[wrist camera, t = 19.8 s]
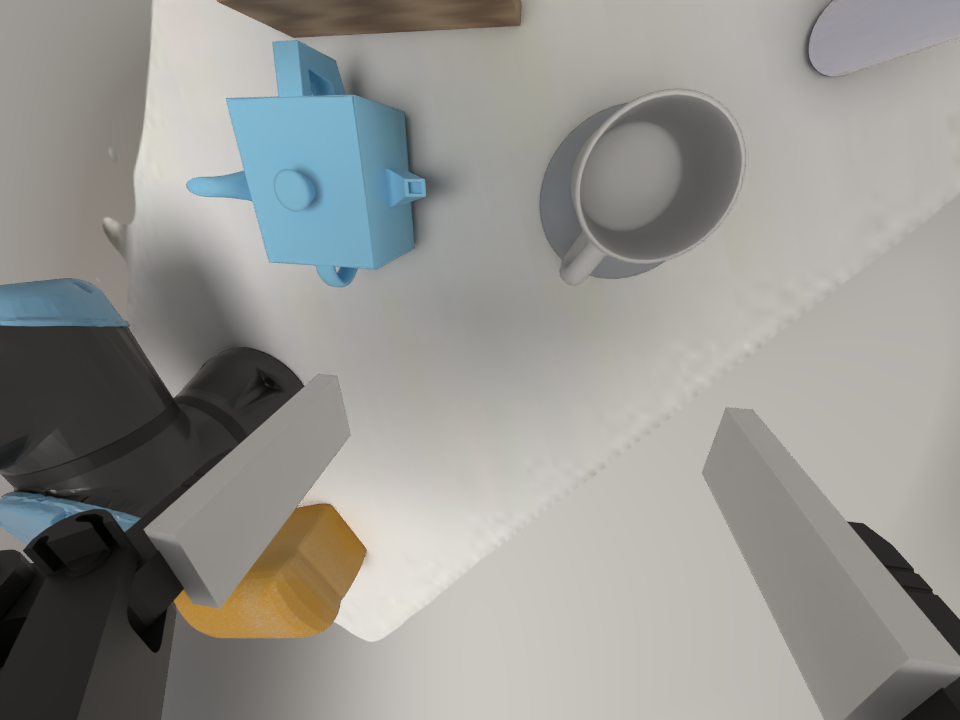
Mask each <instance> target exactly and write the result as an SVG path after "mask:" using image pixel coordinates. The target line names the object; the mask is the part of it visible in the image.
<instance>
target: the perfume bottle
mask: <svg viewBox="0 0 960 720" xmlns="http://www.w3.org/2000/svg"><path fill="white" fill-rule="evenodd" d="M958 38H960V0H833V1H832V2H831V3H830V4H829V5H828V6H827V7H826V8H825V10H824V11H823V13H822V14H821V15H820V17H819V18H818V20H817V22H816V24H815V26H814V28H813V31H812V34H811V37H810V42H809V56H810V61H811V63H812V65H813V66H814V68H815V69H816V70H817V71H818V72H820V73H822V74H824V75H828V76H842V75H847V74H850V73H853V72H856V71H860V70H863V69H866V68H869V67H872V66H875V65H878V64H881V63H884V62H887V61H890V60H893V59H896V58H900V57H903V56H906V55H909V54H912V53H915V52H918V51H921V50H924V49H927V48H930V47H933V46H936V45H940V44H943V43H946V42H949V41H952V40H955V39H958Z"/></svg>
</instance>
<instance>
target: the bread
mask: <svg viewBox="0 0 960 720" xmlns="http://www.w3.org/2000/svg"><path fill="white" fill-rule="evenodd" d="M365 553H366V548H365V547H364V545H363V544H362V543H361V542H360V540H359V539H358V538H357V536H356V535H355V534H354V533H353V531H352V530H351V529H350V528H349V526H348V525H347V524H346V522H345V521H344V520H343V519H342V517H341V516H340V515H339V514H338V512H337V511H336V510H335V508H334V507H333V506H331V505H329V504H317V505H311V506H306V507H300V508H295V510H294V511H293V512H292V514H291V515H290V516H289V518H288V519H287V520H286V522H285V523H284V524H283V526H282V527H281V528H280V530H279V531H278V532H277V534H276V535H275V536H274V538H273V539H272V540H271V542H270V543H269V544H268V546H267V547H266V548H265V550H264V551H263V552H262V554H261V555H260V556H259V558H258V559H257V560H256V562H255V563H254V564H253V566H252V567H251V568H250V570H249V571H248V572H247V574H246V575H245V576H244V578H243V579H242V580H241V582H240V583H239V584H238V586H237V587H236V588H235V590H234V591H233V592H232V594H231V595H230V596H229V598H228V599H227V600H226V602H225V603H224V604H223V606H222V607H221V608H220V609H218V608H213V607H208V606H203V605H198V604H193V603H192V601H191V600H190V598H189V597H188V595H187V594H186V592H185V591H184V590H183V591H182V592H181V593H180V594H179V595H178V596H177V598H176V599H175V600H174V603H175V604H176V607H177V609H178V610H179V611H180V613H181V614H182V616H183V617H184V618H185V619H186V621H187V622H188V623H189V624H190V625H191V626H192V627H194V628H195V629H197V630H198V631H201V632H203V633H205V634H207V635H209V636H212V637H217V638H301V637H307V636H311V635H315V634H318V633H320V632H322V631H324V630H325V629H327V628H328V627H329V626H330V625H331V624H332V623H333V621H334V620H335V618H336V616H337V614H338V612H339V608H340V603H341V600H342V599H343V597H344V596H345V595H346V593H347V592H348V590H349V588H350V587H351V585H352V583H353V581H354V579H355V578H356V576H357V574H358V572H359V570H360V568H361V565H362V563H363V560H364V557H365Z"/></svg>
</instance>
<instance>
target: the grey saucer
mask: <svg viewBox="0 0 960 720" xmlns="http://www.w3.org/2000/svg"><path fill="white" fill-rule="evenodd" d="M627 104H628V103H626V104H621V105H617V106H613V107H611V108H608V109H605V110H603V111H601V112H599V113H597V114H595V115H593V116H591V117H590V118H588V119H587V120H586V121H584V122H583V123H581V124H580V125H579V126H578V127H577V128H576V129H574V130H573V131H572V132H571V133H570V134H569V135H568V137H567V138H566V139H565V140H564V141H563V142H562V144H561V145H560V146H559V148H558V149H557V151H556V152H555V154H554V156H553V158H552V160H551V161H550V163H549V166H548V168H547V171H546V173H545V176H544V180H543V184H542V188H541V195H540V213H541V221H542V225H543V229H544V232H545V234H546V237H547V239H548V241H549V243H550V245H551V247H552V248H553V249H554V251H555V252H556V253H557V255H558V256H559V257H560V258H561V259H562V260H563V259H564V257H565V255H566V254H567V252H568V250H569V249H570V247H571V246H572V245H573V243H574V242H575V240H576V239H577V238H578V236H579V235H580V233H581V232H582V230H583V229H582V227H581V225H580V223H579V220H578V217H577V214H576V210H575V208H574V205H573V202H572V199H571V193H570V180H571V173H572V169H573V165H574V162H575V160H576V157H577V155H578V153H579V152H580V150H581V148H582V146H583V145H584V144H585V142H586V141H587V140H588V139H589V137H590V136H591V135H592V134H593V133H594V132H595V131H596V130H598V129H599V128H600V127H601V126H602V124H603V123H604V122H605V121H606V120H607V119H608V118H609V117H611V116H612V115H613V114H614V113H615V112H616V111H618V110H619V109H621V108H622V107H624V106H625V105H627ZM663 262H665V261H661V262H657V263H648V264H637V263H630V262H625V261H621V260H618V259H616V258H613V257H611V256H609V255H607V256H605V257H604V258H603V260H602V261H601V262H600V263H599V264H598V265H597V267H596V268H595V269H594V270H593V271H592V273H591V274H590V276H594V277H598V278H606V279H618V278H626V277H631V276H635V275H638V274H641V273H644V272H647V271H649V270H651V269H653V268H655V267H657V266H658V265H660V264H662V263H663Z"/></svg>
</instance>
